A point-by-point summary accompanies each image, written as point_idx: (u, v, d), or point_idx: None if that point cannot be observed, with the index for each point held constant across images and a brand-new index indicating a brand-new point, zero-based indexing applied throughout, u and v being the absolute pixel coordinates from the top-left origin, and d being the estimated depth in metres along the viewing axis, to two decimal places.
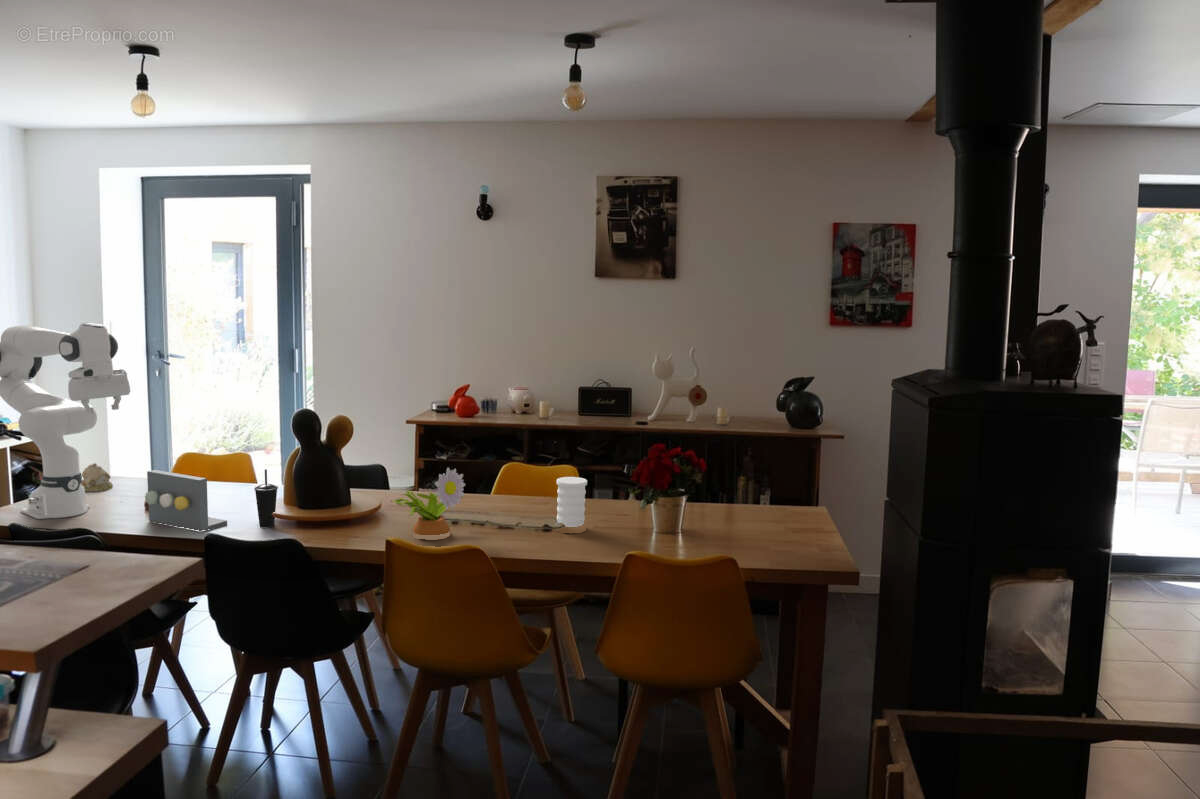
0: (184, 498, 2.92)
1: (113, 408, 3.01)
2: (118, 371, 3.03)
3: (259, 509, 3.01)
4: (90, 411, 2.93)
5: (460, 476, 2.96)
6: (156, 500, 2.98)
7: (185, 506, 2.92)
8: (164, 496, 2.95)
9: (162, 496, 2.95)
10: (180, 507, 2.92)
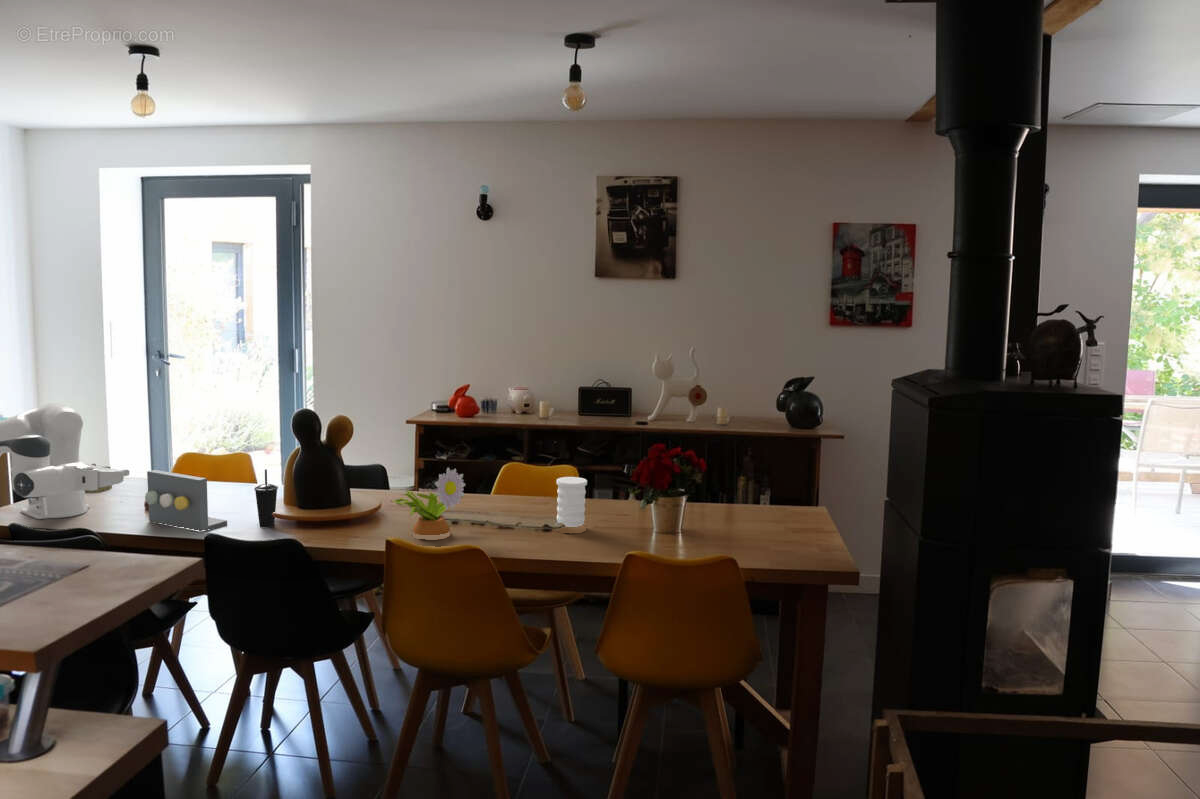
0: (184, 498, 2.92)
1: None
2: None
3: (259, 509, 3.01)
4: None
5: (460, 476, 2.96)
6: (156, 500, 2.98)
7: (185, 506, 2.92)
8: (164, 496, 2.95)
9: (162, 496, 2.95)
10: (180, 507, 2.92)
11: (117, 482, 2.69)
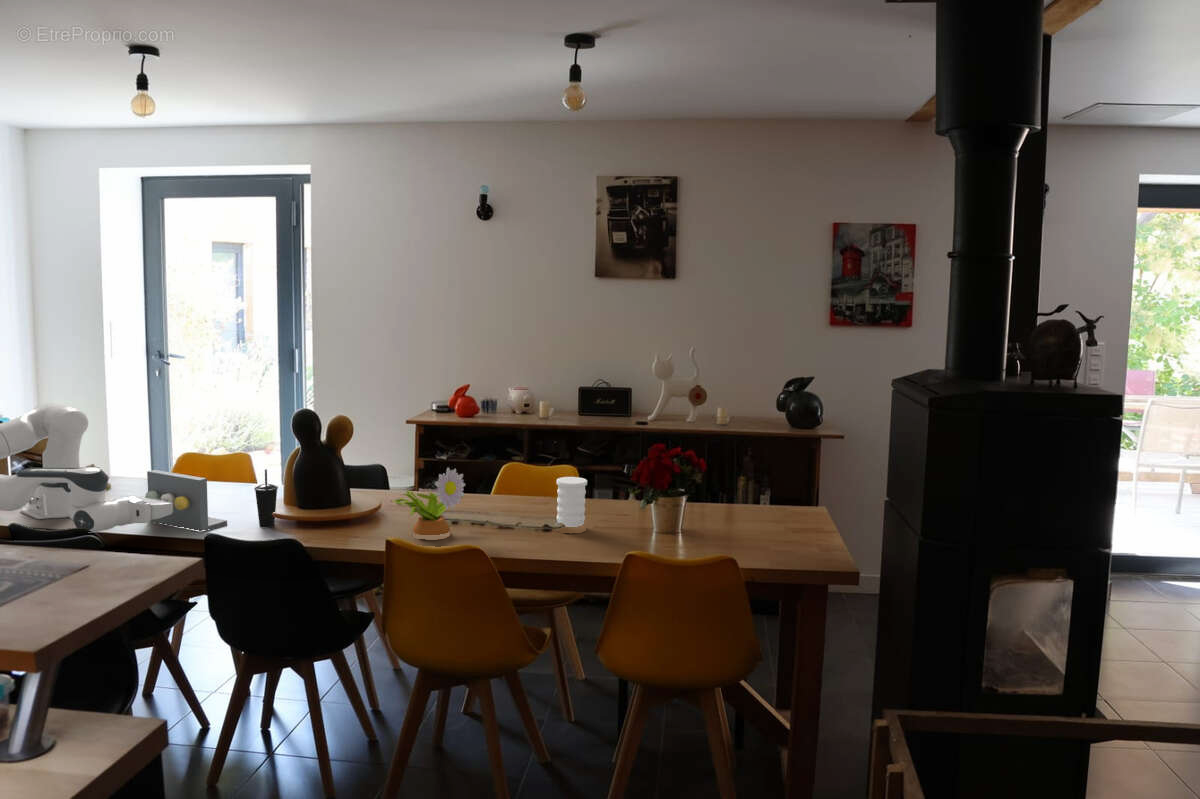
0: (184, 498, 2.92)
1: None
2: None
3: (259, 509, 3.01)
4: (165, 499, 2.94)
5: (460, 476, 2.96)
6: None
7: (185, 506, 2.92)
8: (165, 496, 2.95)
9: (163, 496, 2.96)
10: (180, 507, 2.92)
11: (168, 514, 2.85)
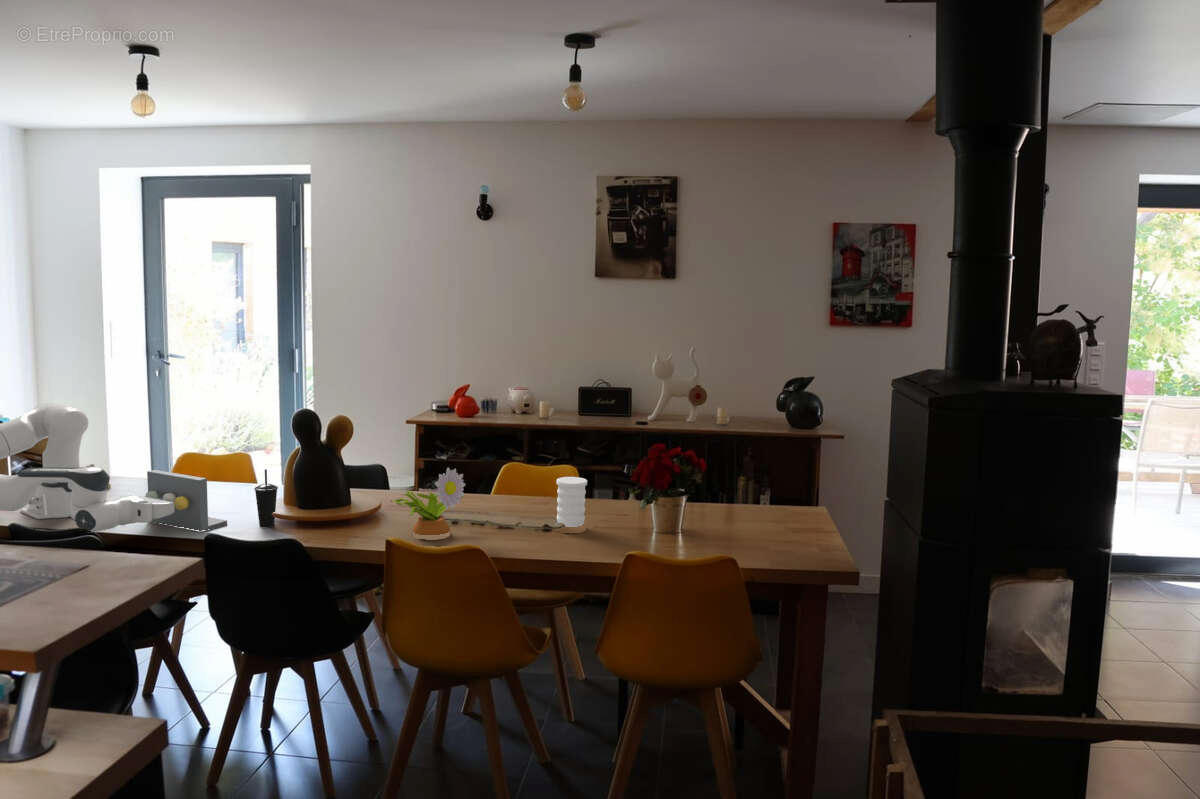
0: (184, 498, 2.92)
1: None
2: None
3: (259, 509, 3.01)
4: None
5: (460, 476, 2.96)
6: None
7: (185, 506, 2.92)
8: (167, 495, 2.96)
9: (165, 495, 2.96)
10: (180, 507, 2.92)
11: (169, 513, 2.86)
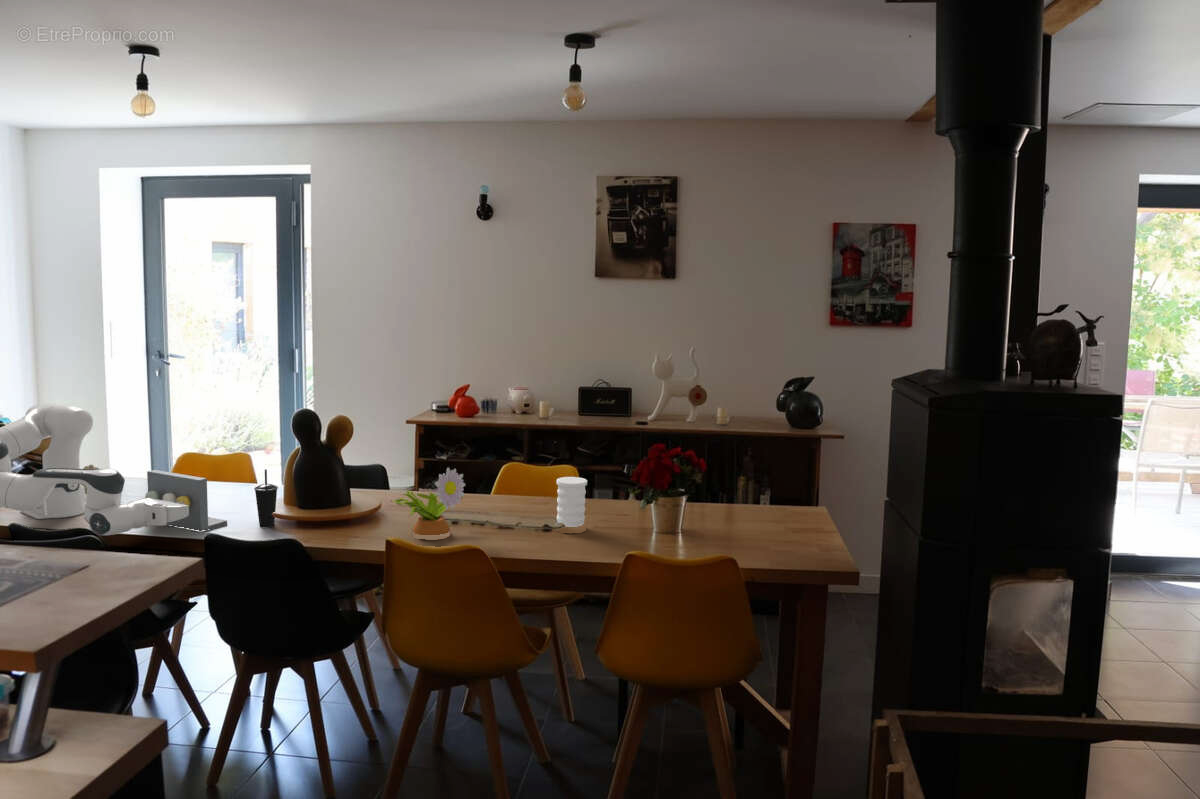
0: (186, 498, 2.93)
1: None
2: None
3: (259, 509, 3.01)
4: (181, 501, 2.92)
5: (460, 476, 2.96)
6: None
7: None
8: (167, 495, 2.96)
9: (165, 495, 2.96)
10: None
11: (184, 516, 2.83)
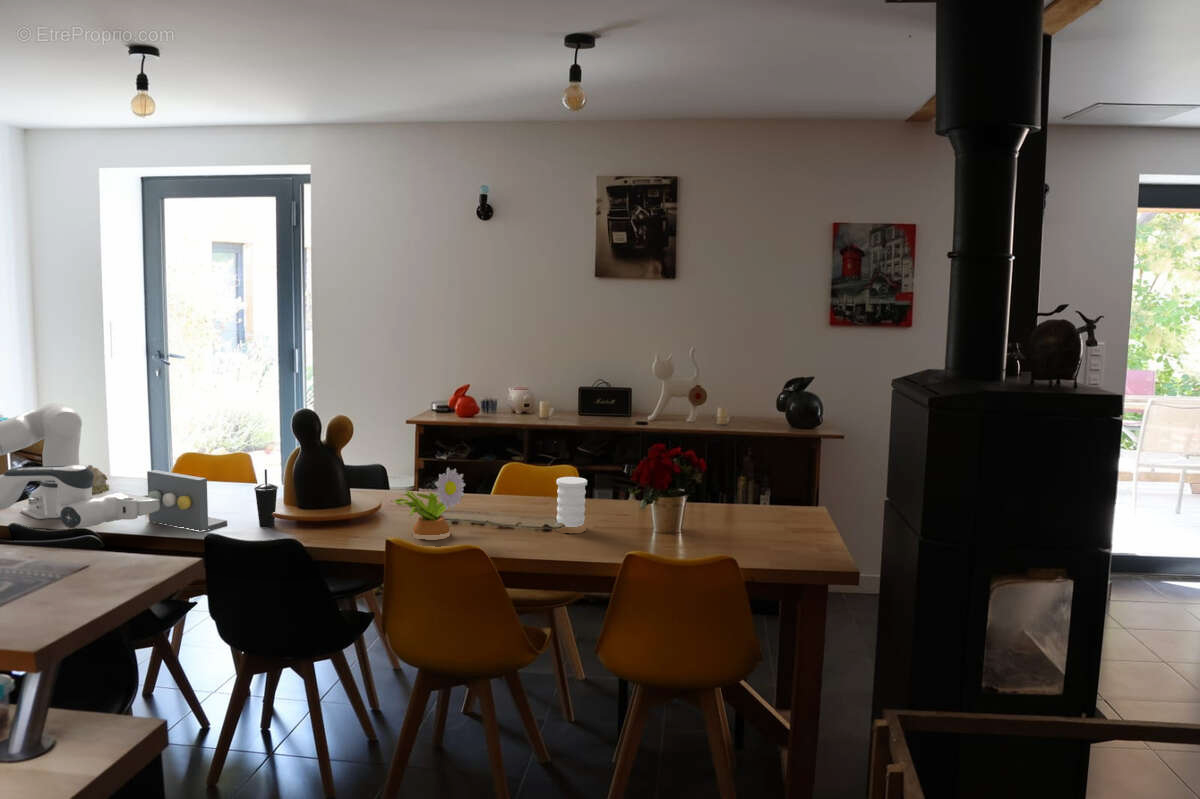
0: (187, 497, 2.93)
1: (151, 498, 2.98)
2: None
3: (259, 509, 3.01)
4: None
5: (460, 476, 2.96)
6: (159, 500, 2.99)
7: (188, 505, 2.93)
8: (167, 495, 2.96)
9: (165, 495, 2.96)
10: (183, 506, 2.93)
11: (154, 510, 2.89)
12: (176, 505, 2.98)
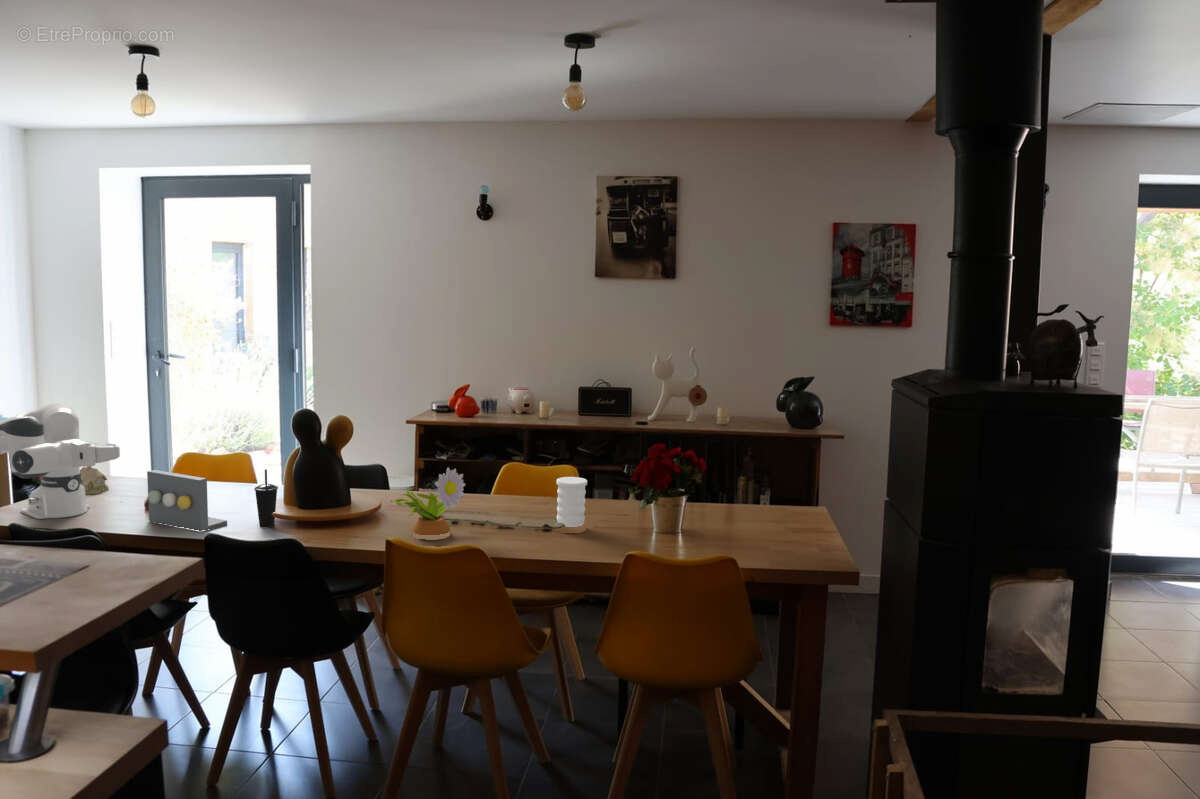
0: (187, 497, 2.93)
1: None
2: None
3: (259, 509, 3.01)
4: (113, 444, 2.83)
5: (460, 476, 2.96)
6: (159, 500, 2.99)
7: (188, 505, 2.93)
8: (167, 495, 2.96)
9: (165, 495, 2.96)
10: (183, 506, 2.93)
11: (114, 458, 2.74)
12: (176, 505, 2.98)
